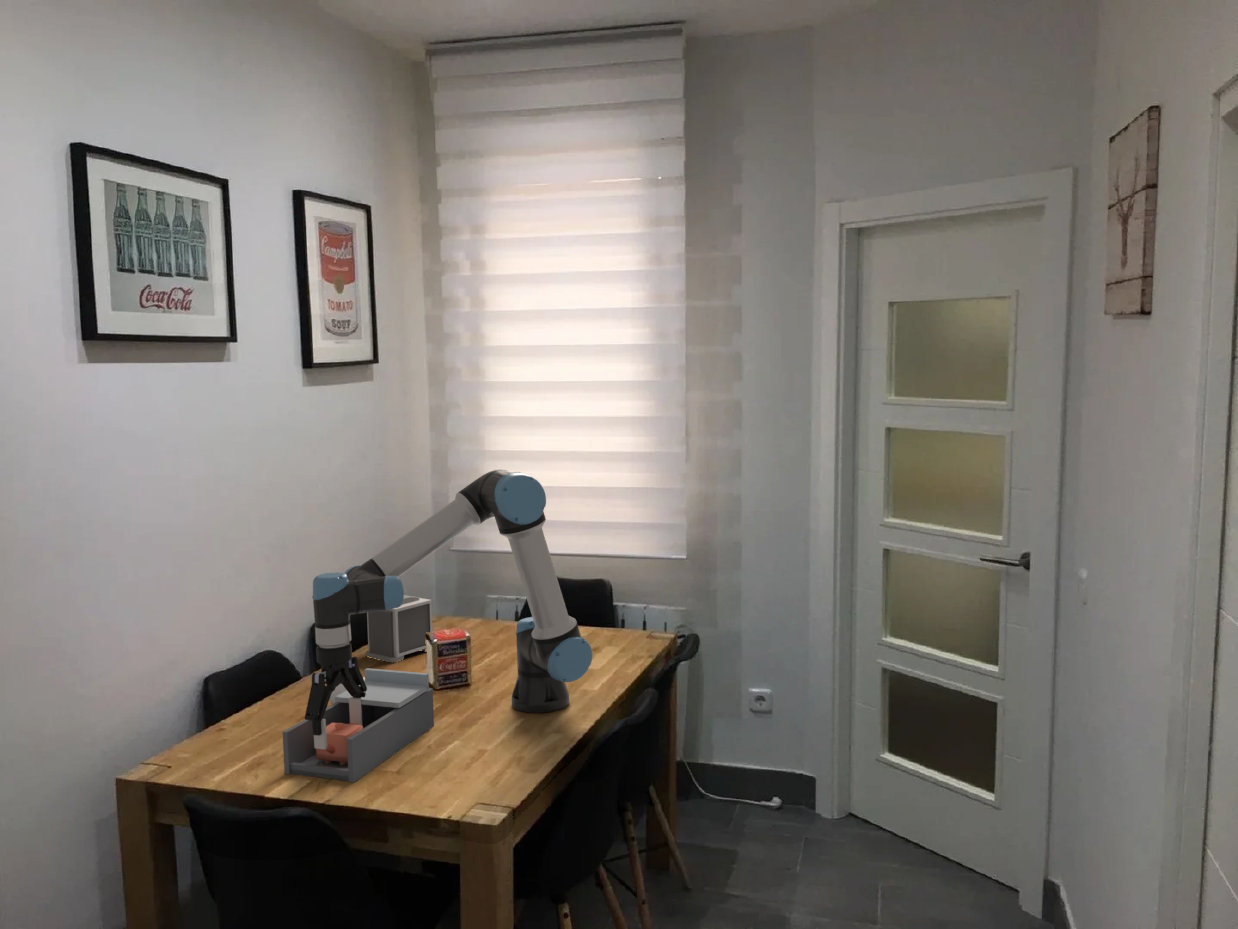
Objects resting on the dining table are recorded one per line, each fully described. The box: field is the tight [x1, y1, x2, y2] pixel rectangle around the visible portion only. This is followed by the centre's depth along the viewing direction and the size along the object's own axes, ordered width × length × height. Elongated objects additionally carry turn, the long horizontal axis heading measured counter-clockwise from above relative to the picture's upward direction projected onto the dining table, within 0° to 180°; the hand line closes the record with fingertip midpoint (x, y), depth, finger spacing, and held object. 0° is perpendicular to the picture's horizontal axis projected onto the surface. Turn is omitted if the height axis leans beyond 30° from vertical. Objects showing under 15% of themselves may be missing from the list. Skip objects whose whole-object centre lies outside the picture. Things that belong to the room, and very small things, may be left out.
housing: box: [282, 687, 435, 784], centre depth 225 cm, size 17×35×10 cm, turn 162°
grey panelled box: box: [365, 594, 434, 663], centre depth 304 cm, size 18×13×18 cm
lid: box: [335, 667, 430, 708], centre depth 233 cm, size 17×14×4 cm
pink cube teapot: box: [316, 723, 364, 765], centre depth 215 cm, size 8×12×8 cm, turn 164°
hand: (339, 737), depth 215 cm, fingers open, 13 cm apart
